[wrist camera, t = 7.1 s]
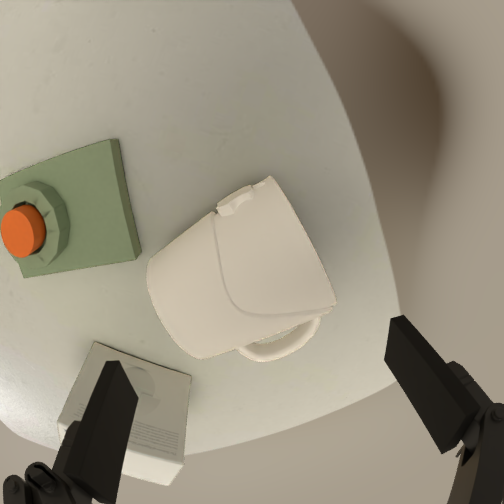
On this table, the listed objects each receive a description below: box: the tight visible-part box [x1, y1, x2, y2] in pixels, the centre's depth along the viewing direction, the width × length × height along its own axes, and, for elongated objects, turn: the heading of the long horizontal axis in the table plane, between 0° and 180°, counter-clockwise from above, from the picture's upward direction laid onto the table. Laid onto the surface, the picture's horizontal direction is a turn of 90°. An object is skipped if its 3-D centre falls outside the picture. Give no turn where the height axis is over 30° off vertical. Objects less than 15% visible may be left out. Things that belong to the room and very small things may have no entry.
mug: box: [146, 176, 337, 362], centre depth 20 cm, size 12×9×8 cm
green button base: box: [0, 139, 142, 278], centre depth 19 cm, size 12×9×4 cm
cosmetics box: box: [57, 342, 192, 486], centre depth 22 cm, size 10×6×10 cm, turn 66°
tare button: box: [1, 205, 46, 258], centre depth 17 cm, size 4×4×2 cm
